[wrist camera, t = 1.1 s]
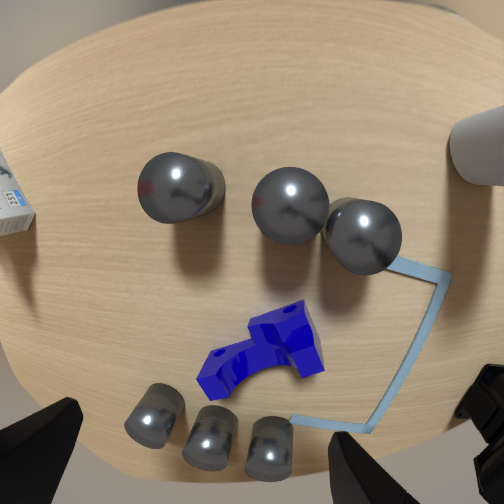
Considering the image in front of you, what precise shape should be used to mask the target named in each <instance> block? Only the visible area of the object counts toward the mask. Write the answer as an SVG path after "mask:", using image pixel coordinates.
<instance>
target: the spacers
mask: <svg viewBox="0 0 504 504" xmlns="http://www.w3.org/2000/svg"><path fill="white" fill-rule="evenodd" d="M224 194H225V180H224V177H223V175H222V173H221V171H220V170H219V169H218V168H217V167H216V166H215V165H214V164H212V163H210V162H207V161H204V160H201V159H197V158H194V157H190V156H187V155H183V154H180V153H175V152H167V153H162V154H160V155H157V156H155V157H154V158H152V159H151V160H150V161H149V162H148V163H147V164H146V165H145V167H144V168H143V170H142V172H141V174H140V177H139V180H138V198H139V201H140V204H141V206H142V208H143V209H144V211H145V212H146V213H147V214H148V215H149V216H150V217H151V218H152V219H154V220H156V221H158V222H161V223H165V224H173V223H178V222H181V221H184V220H187V219H190V218H193V217H197V216H200V215H203V214H206V213H209V212H211V211H213V210H214V209H215V208H216V207H217V206H218V205H219V204H220V203H221V201H222V199H223V197H224ZM252 213H253V217H254V220H255V222H256V224H257V226H258V227H259V229H260V230H261V231H262V232H263V233H264V234H265V235H266V236H267V237H269V238H270V239H272V240H274V241H276V242H279V243H283V244H299V243H303V242H306V241H308V240H310V239H311V238H313V237H314V236H315V235H317V234H318V233H319V232H320V230H321V231H322V235H323V237H324V239H325V241H326V242H327V244H328V245H329V247H330V249H331V250H332V252H333V253H334V255H335V256H336V258H337V260H338V261H339V262H340V264H341V265H342V266H343V267H344V268H346V269H347V270H348V271H350V272H352V273H355V274H358V275H373V274H376V273H379V272H381V271H383V270H385V269H386V268H387V267H389V266H390V265H391V264H392V262H393V261H394V260H395V258H396V257H397V255H398V253H399V250H400V247H401V242H402V231H401V227H400V224H399V221H398V219H397V217H396V216H395V214H394V213H393V212H392V211H391V210H390V209H389V208H388V207H386V206H385V205H383V204H381V203H378V202H374V201H368V200H363V199H357V198H349V197H348V198H341V199H338V200H336V201H334V202H333V203H331V204H330V205H329V199H328V195H327V192H326V190H325V188H324V186H323V184H322V183H321V182H320V180H319V179H318V178H317V177H315V176H314V175H313V174H311V173H310V172H308V171H306V170H303V169H300V168H296V167H284V168H280V169H277V170H274V171H272V172H270V173H269V174H267V175H266V176H265V177H264V178H263V179H262V180H261V181H260V182H259V183H258V185H257V187H256V189H255V191H254V194H253V197H252ZM184 405H185V403H184V399H183V397H182V395H181V394H180V393H179V392H178V391H177V390H176V389H174V388H173V387H171V386H169V385H166V384H162V383H156V384H153V385H151V386H150V387H149V389H148V390H147V391H146V393H145V394H144V396H143V397H142V399H141V400H140V401H139V403H138V404H137V406H136V407H135V409H134V410H133V411H132V413H131V414H130V416H129V417H128V419H127V420H126V422H125V424H124V426H125V430H126V432H127V433H128V434H129V436H130V437H131V438H132V439H134V440H135V441H136V442H138V443H139V444H141V445H143V446H145V447H148V448H152V449H160V448H163V447H164V446H165V444H166V442H167V440H168V438H169V436H170V434H171V432H172V430H173V428H174V426H175V424H176V422H177V420H178V418H179V416H180V414H181V412H182V410H183V408H184ZM237 423H238V421H237V418H236V416H235V415H234V414H233V413H232V412H231V411H230V410H228V409H226V408H224V407H221V406H215V405H210V406H206V407H203V408H202V409H201V410H200V411H199V413H198V416H197V418H196V420H195V423H194V425H193V427H192V430H191V432H190V434H189V437H188V439H187V441H186V444H185V446H184V448H183V451H182V456H183V458H184V459H185V460H186V461H187V462H188V463H189V464H191V465H192V466H194V467H196V468H199V469H202V470H206V471H220V470H222V469H224V468H225V467H226V465H227V462H228V458H229V454H230V450H231V447H232V443H233V439H234V435H235V431H236V427H237ZM292 450H293V426H292V424H291V423H289V421H288V420H286V419H284V418H281V417H276V416H268V417H263V418H261V419H259V420H257V421H256V422H255V423H254V425H253V430H252V435H251V440H250V445H249V450H248V455H247V460H246V465H245V472H246V473H247V475H248V476H250V477H251V478H253V479H256V480H259V481H264V482H277V481H281V480H284V479H286V478H288V477H289V476H290V474H291V471H292Z"/></svg>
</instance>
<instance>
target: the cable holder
mask: <svg viewBox="0 0 504 504" xmlns="http://www.w3.org/2000/svg"><path fill="white" fill-rule="evenodd" d="M248 329H249V331H250V333H251V335H252V337H253V338H251V339H248V340H245V341H242V342H239V343H235V344H232V345H229V346H226V347H222V348H219V349H215V350H212V351H210V353H209V355H208V357H207V359H206V361H205V363H204V365H203V367H202V369H201V371H200V373H199V375H198V377H197V379H196V380H197V382H198V383H199V385H200V386H201V388H202V389H203V391H204V392H205V394H206V396H207V397H208V399H209V400H210V401H213V400H218V399H222V398H227V397H230V394H231V392H232V391H233V389H234V388H235V387H236V386H237V385H238V384H239V383H240V382H241V381H242V380H244V379H245V378H246V377H248V376H249V375H251V374H253V373H255V372H257V371H259V370H262V369H264V368H267V367H271V366H277V365H288V366H292V367H295V368H296V369H298V371H299V374H300V376H301V378H304V377H307V376H310V375H313V374H316V373H319V372H322V371H325V369H324V362H323V355H322V348H321V342H320V339H319V336H318V334H317V331H316V329H315V326H314V324H313V321H312V319H311V316H310V314H309V311H308V309H307V306H306V304H305V301H304V299H303V300H301V301H298V302H295V303H293V304H290V305H287V306H285V307H282V308H279V309H276V310H274V311H271V312H268V313H265V314H262V315H260V316H257V317H254V318H251V319H250V321H249V324H248Z"/></svg>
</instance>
